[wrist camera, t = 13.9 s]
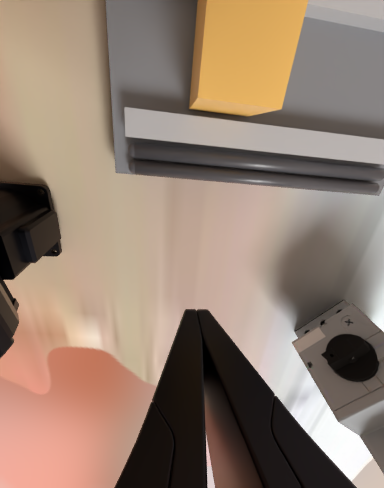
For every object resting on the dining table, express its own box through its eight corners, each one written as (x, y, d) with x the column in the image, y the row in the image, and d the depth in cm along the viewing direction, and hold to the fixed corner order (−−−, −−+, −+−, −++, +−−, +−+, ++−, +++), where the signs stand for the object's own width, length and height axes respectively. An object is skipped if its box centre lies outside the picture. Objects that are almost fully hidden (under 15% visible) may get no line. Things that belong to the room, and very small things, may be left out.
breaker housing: (121, 168, 17) (111, 175, 15) (107, -113, 11) (86, -199, 8) (360, 190, 20) (391, 199, 17) (458, -25, 14) (533, -66, 11)
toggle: (188, 109, 14) (197, 97, 9) (197, 2, 12) (214, -78, 7) (247, 116, 14) (281, 109, 10) (266, 15, 12) (321, -52, 8)
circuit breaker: (321, 272, 24) (500, 437, 11) (368, 328, 30) (525, 482, 17) (269, 310, 26) (368, 486, 13) (322, 355, 32) (429, 512, 19)
